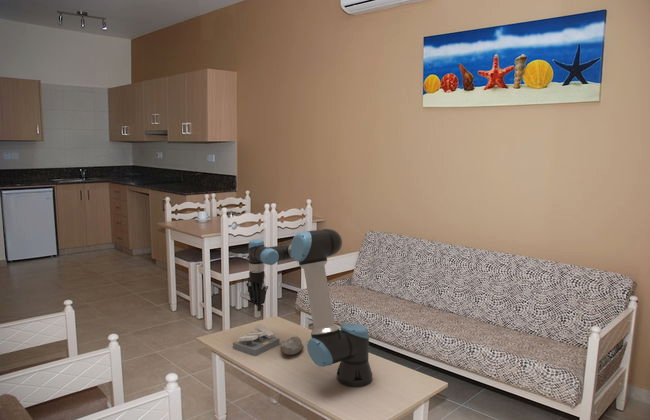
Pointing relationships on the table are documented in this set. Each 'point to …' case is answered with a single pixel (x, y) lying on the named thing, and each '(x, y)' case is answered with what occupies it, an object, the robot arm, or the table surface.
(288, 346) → the seashell
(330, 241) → the robot arm
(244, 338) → the plate
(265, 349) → the switch unit
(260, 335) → the rocker
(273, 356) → the table surface
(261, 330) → the rocker
